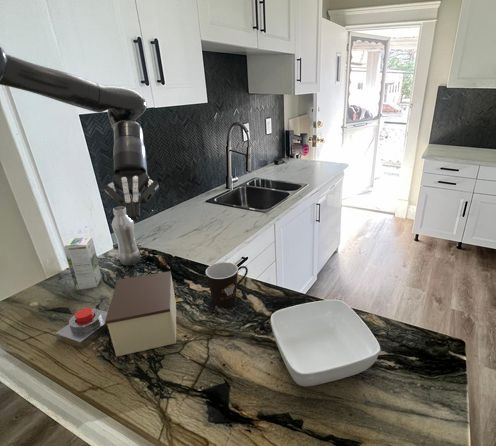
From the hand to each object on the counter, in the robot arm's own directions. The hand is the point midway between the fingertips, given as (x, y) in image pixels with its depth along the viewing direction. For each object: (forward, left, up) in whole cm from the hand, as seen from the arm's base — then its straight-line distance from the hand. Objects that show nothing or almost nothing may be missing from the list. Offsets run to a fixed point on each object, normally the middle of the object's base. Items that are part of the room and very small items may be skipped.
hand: (133, 218), depth 76 cm
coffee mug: (+10, -18, -26) cm, 34 cm away
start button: (-13, +8, -23) cm, 27 cm away
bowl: (-1, -48, -26) cm, 55 cm away
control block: (-13, +8, -26) cm, 30 cm away
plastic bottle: (+16, +24, -26) cm, 39 cm away
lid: (-7, -6, -16) cm, 19 cm away
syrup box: (+2, +26, -26) cm, 37 cm away
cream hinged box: (-7, -5, -26) cm, 28 cm away
